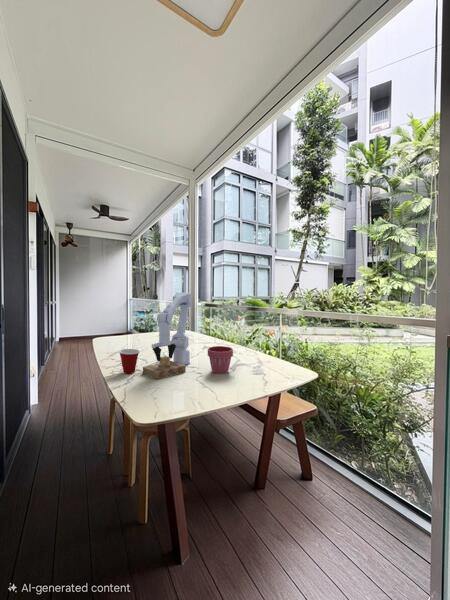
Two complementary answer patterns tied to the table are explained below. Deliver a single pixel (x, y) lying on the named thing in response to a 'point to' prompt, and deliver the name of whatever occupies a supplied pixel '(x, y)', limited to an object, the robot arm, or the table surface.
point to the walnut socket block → (164, 370)
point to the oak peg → (164, 362)
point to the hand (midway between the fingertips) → (164, 359)
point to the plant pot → (220, 358)
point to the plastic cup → (129, 360)
